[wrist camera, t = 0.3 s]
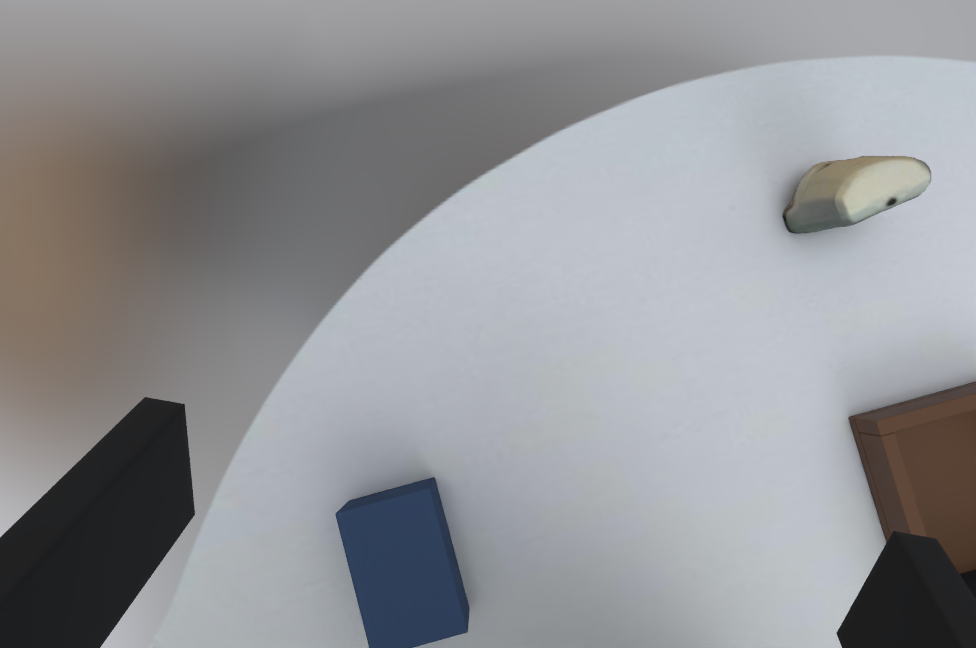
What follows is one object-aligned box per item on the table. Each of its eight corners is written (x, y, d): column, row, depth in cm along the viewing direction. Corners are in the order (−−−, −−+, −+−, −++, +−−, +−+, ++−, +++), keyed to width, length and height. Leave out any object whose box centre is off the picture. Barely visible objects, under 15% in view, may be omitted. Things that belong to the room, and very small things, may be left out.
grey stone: (826, 267, 46) (897, 246, 38) (761, 226, 47) (818, 197, 39) (868, 197, 47) (947, 162, 39) (804, 158, 47) (869, 115, 39)
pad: (469, 609, 45) (468, 632, 41) (382, 633, 45) (372, 659, 41) (434, 476, 46) (429, 487, 42) (348, 500, 45) (334, 513, 41)
